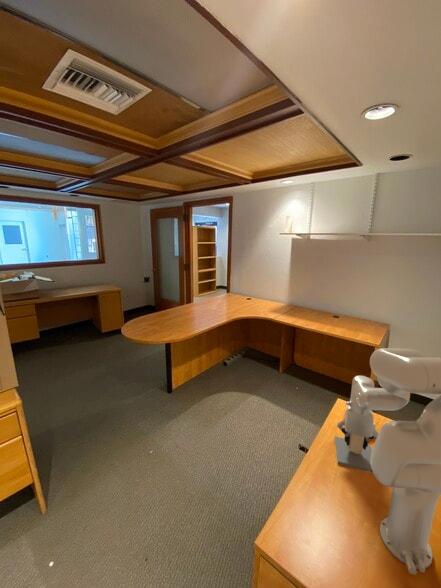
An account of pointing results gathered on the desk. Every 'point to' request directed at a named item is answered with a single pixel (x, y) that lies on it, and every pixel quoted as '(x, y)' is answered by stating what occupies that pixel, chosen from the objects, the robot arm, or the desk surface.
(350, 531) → the desk surface
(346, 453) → the slate coaster
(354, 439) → the candle
